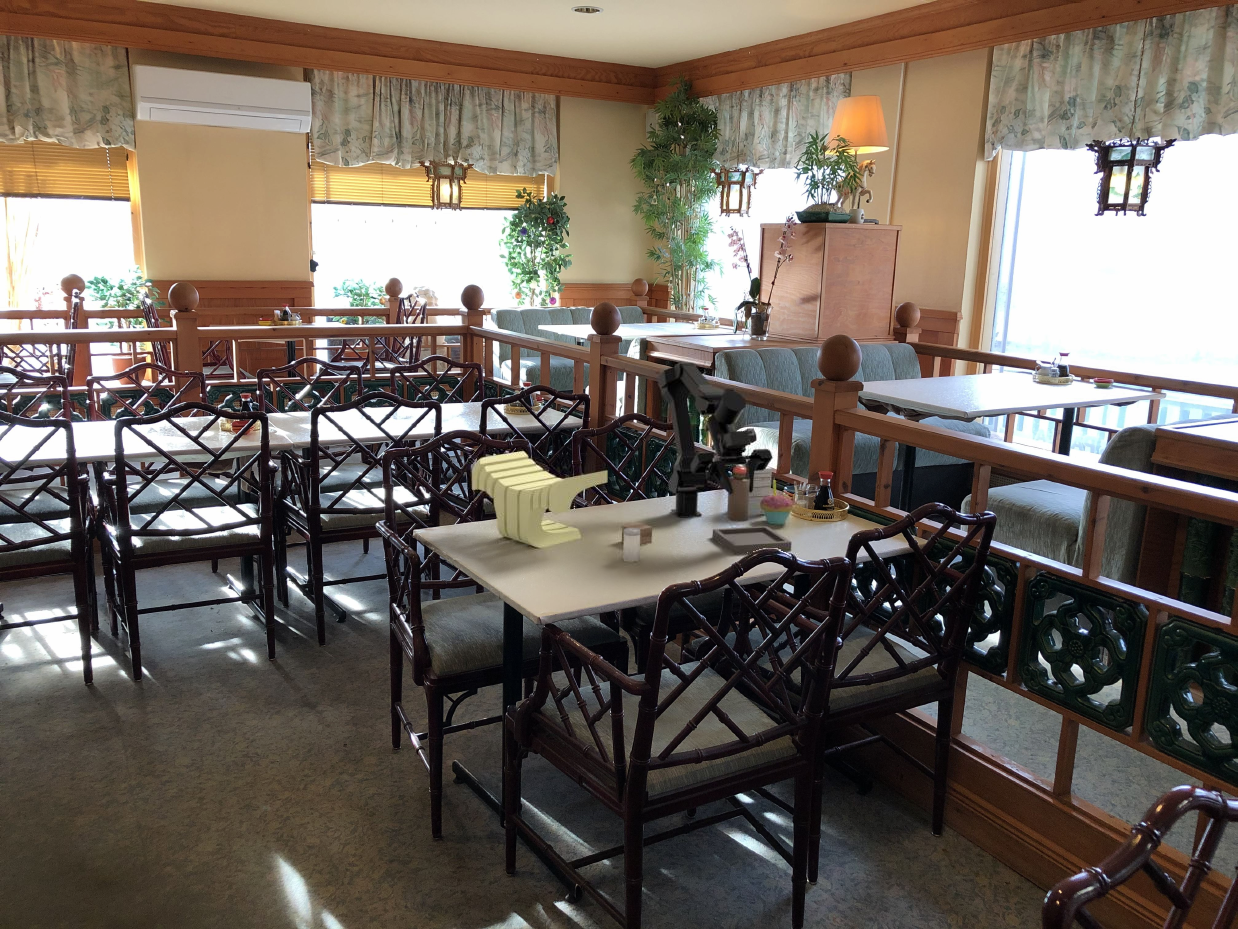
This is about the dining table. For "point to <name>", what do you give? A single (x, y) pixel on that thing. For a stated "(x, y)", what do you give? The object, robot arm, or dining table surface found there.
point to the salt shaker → (631, 544)
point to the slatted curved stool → (529, 497)
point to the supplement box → (759, 490)
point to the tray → (750, 539)
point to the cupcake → (776, 507)
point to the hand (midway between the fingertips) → (741, 492)
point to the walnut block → (644, 532)
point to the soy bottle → (738, 496)
